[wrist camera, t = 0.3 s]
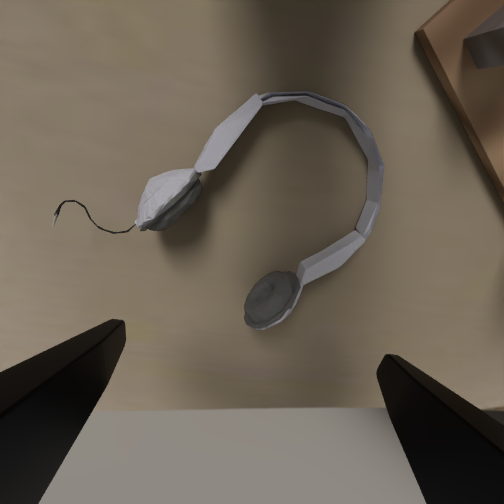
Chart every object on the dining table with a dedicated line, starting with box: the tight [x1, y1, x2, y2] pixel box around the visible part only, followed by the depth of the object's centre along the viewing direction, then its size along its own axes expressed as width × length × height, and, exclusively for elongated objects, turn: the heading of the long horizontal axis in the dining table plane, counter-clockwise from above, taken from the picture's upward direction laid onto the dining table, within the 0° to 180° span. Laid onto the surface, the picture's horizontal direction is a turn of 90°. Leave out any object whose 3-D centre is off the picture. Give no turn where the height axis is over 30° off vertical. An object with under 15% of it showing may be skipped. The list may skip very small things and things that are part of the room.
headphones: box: [52, 91, 384, 330], centre depth 21 cm, size 17×6×20 cm
